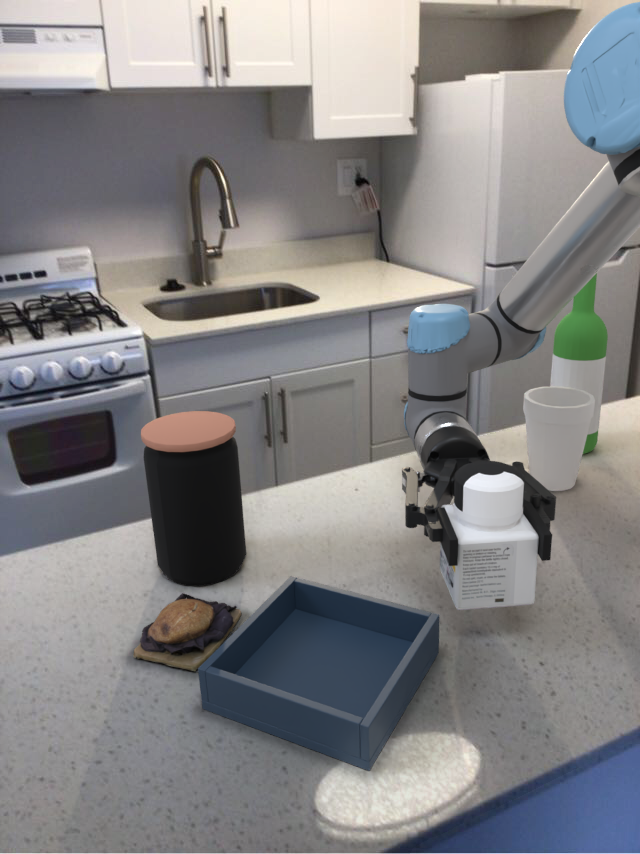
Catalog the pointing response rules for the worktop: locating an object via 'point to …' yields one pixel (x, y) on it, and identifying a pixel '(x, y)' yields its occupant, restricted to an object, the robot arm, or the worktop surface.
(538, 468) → the foam cup
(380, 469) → the worktop surface
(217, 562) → the coffee jar
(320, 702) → the tote
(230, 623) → the bread roll
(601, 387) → the wine bottle
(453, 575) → the container
